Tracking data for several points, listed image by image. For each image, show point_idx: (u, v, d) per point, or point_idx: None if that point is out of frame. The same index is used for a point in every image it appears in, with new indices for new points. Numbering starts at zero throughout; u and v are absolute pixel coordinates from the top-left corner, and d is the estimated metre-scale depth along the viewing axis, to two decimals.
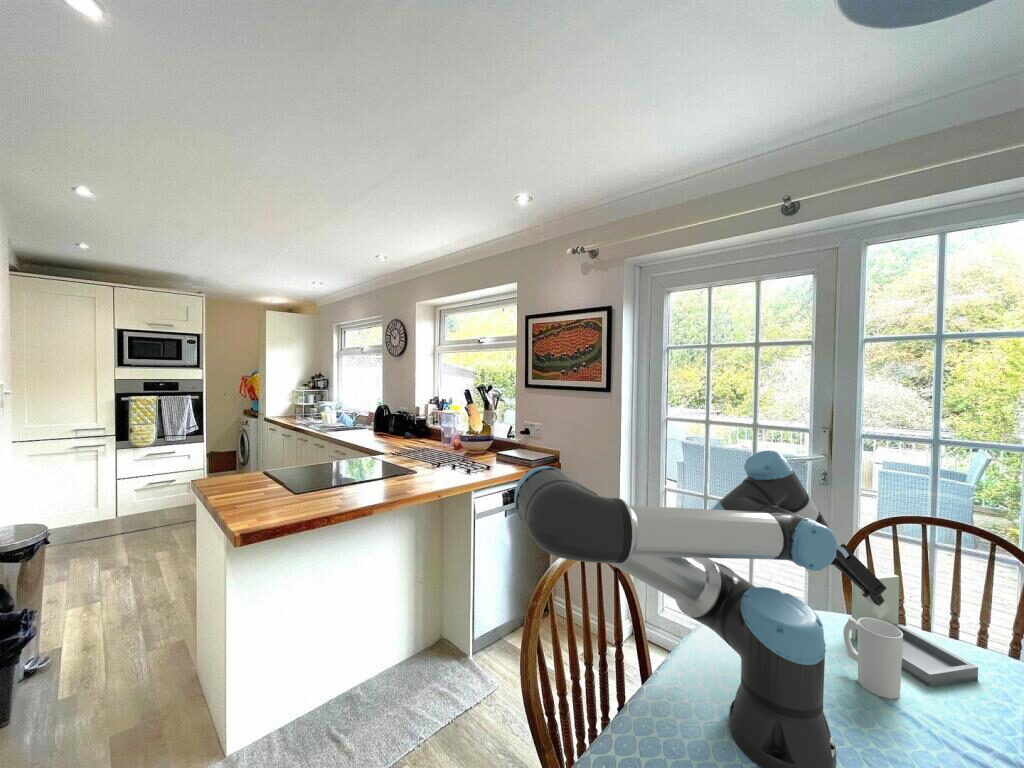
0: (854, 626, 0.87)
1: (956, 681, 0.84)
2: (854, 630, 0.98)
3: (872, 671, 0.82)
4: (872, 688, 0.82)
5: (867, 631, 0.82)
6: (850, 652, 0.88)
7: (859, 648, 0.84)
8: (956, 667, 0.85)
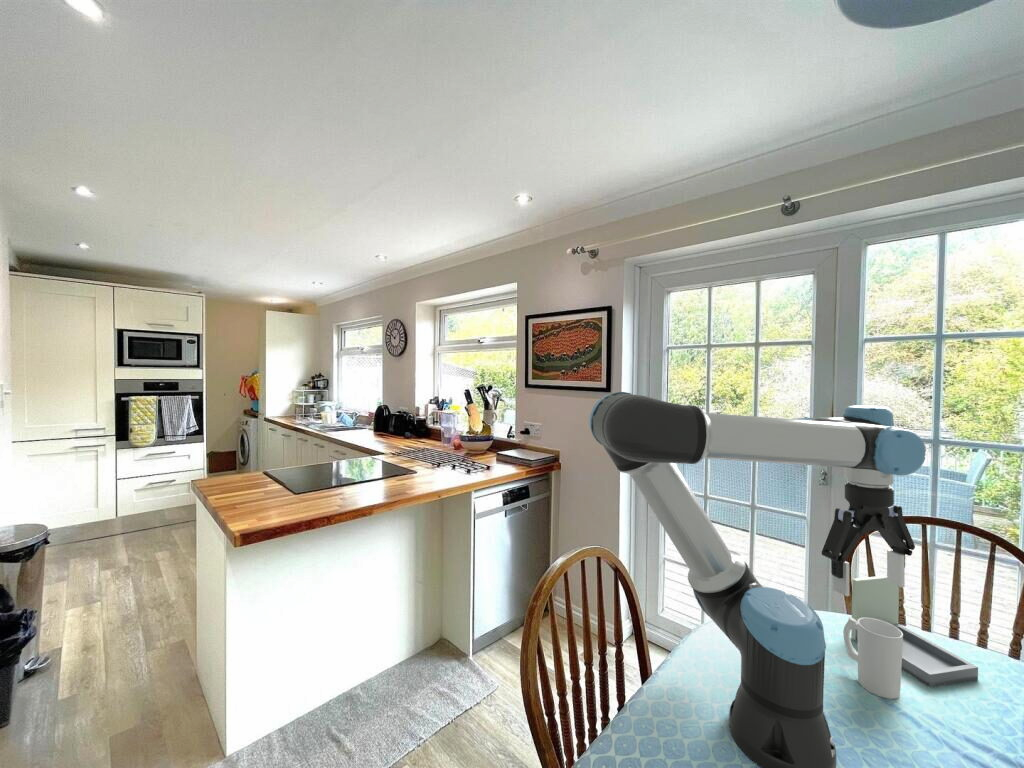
0: (854, 626, 0.87)
1: (956, 681, 0.84)
2: (854, 630, 0.98)
3: (872, 671, 0.82)
4: (872, 688, 0.82)
5: (867, 631, 0.82)
6: (850, 652, 0.88)
7: (859, 648, 0.84)
8: (956, 667, 0.85)
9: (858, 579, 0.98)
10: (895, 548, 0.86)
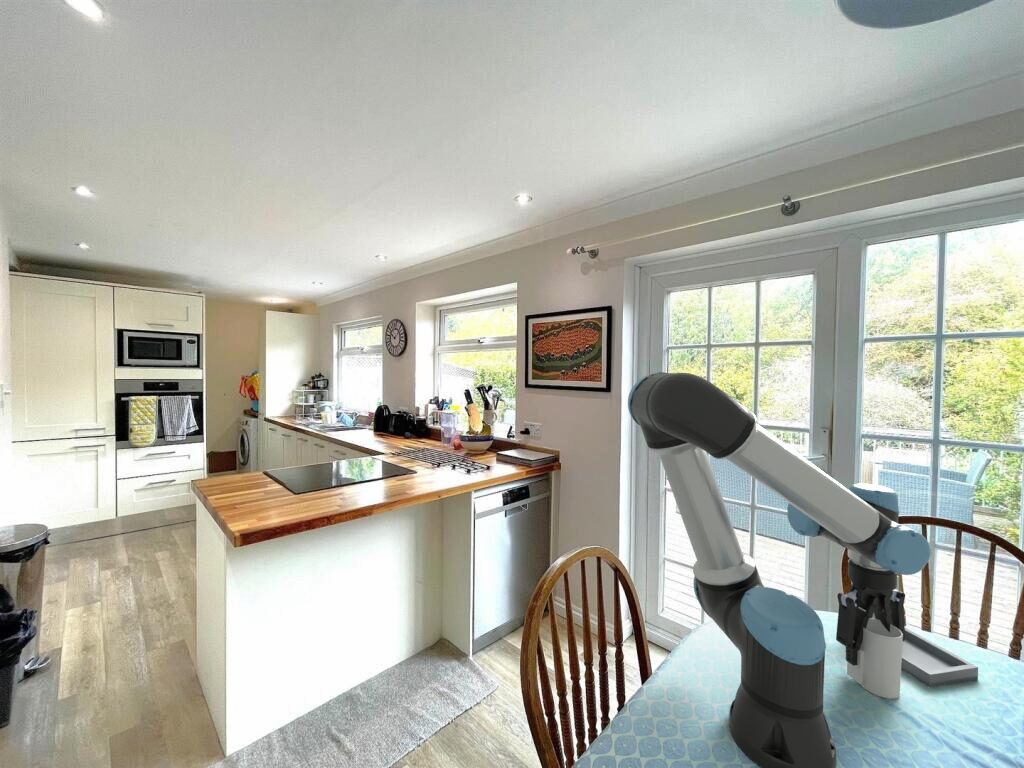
0: None
1: (956, 681, 0.84)
2: None
3: (871, 671, 0.82)
4: (872, 688, 0.82)
5: (867, 631, 0.82)
6: None
7: None
8: (956, 667, 0.85)
9: None
10: None
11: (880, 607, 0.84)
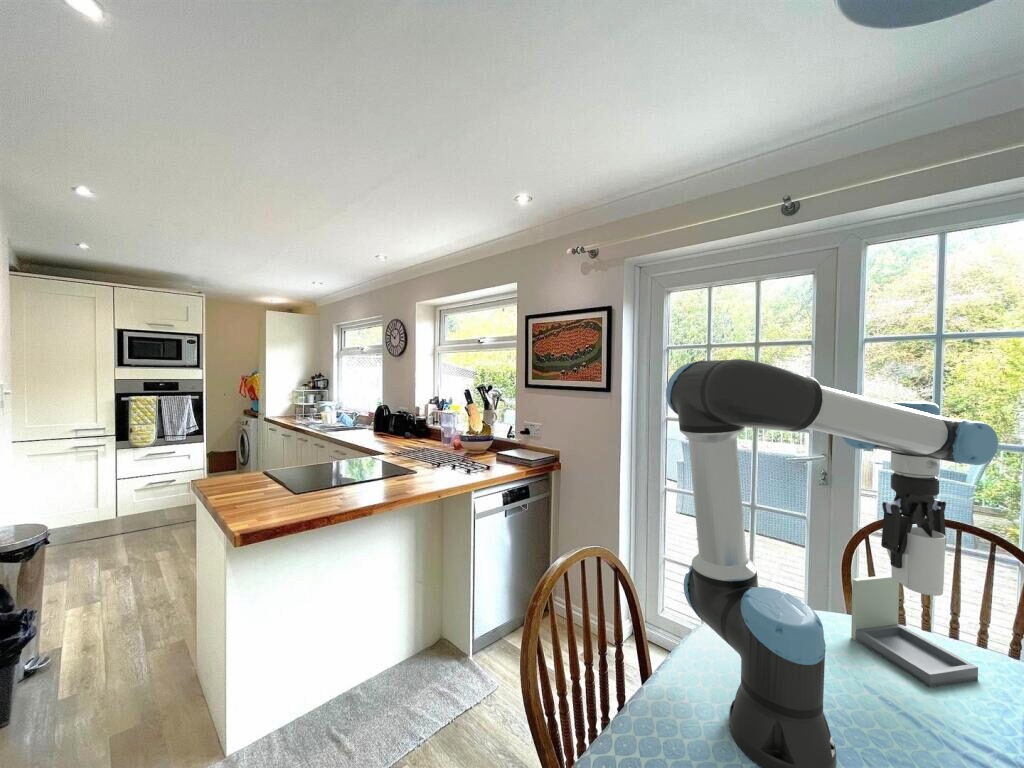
0: None
1: (956, 681, 0.84)
2: (854, 630, 0.98)
3: (916, 571, 0.87)
4: (917, 587, 0.87)
5: (911, 535, 0.88)
6: None
7: None
8: (956, 667, 0.85)
9: (858, 579, 0.98)
10: None
11: (923, 514, 0.89)
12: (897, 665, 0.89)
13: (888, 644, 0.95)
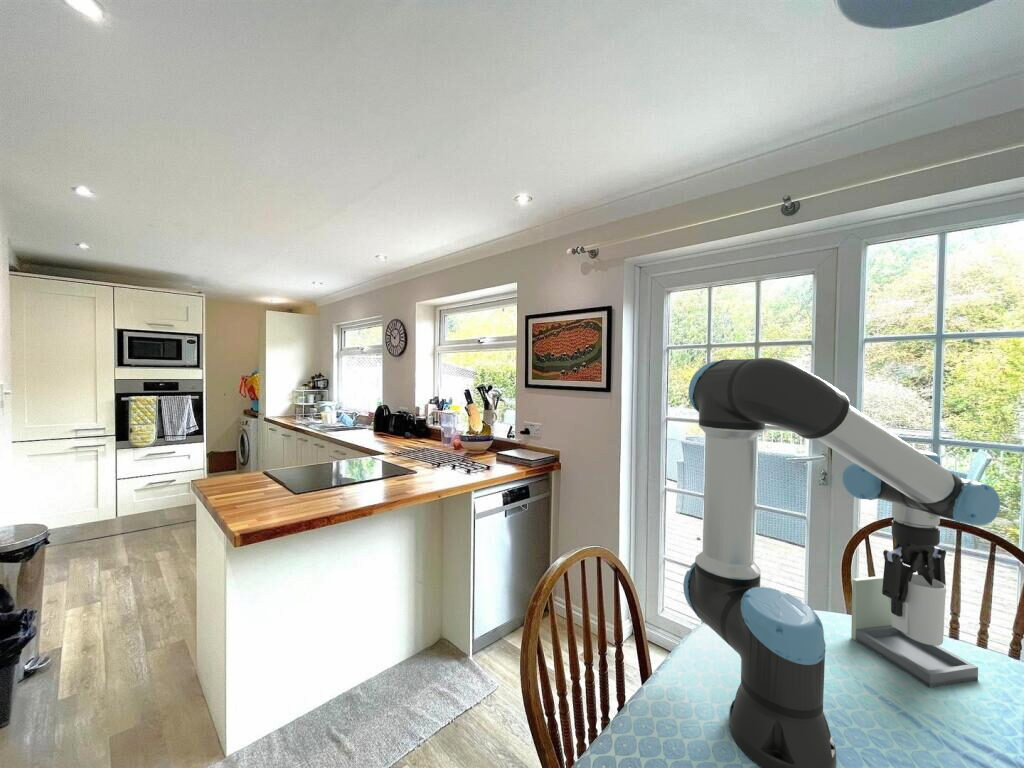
0: None
1: (956, 681, 0.84)
2: (854, 630, 0.98)
3: (916, 620, 0.88)
4: (917, 636, 0.88)
5: (912, 584, 0.89)
6: None
7: None
8: (956, 667, 0.85)
9: (858, 579, 0.98)
10: None
11: (923, 563, 0.90)
12: (897, 665, 0.89)
13: (888, 644, 0.95)
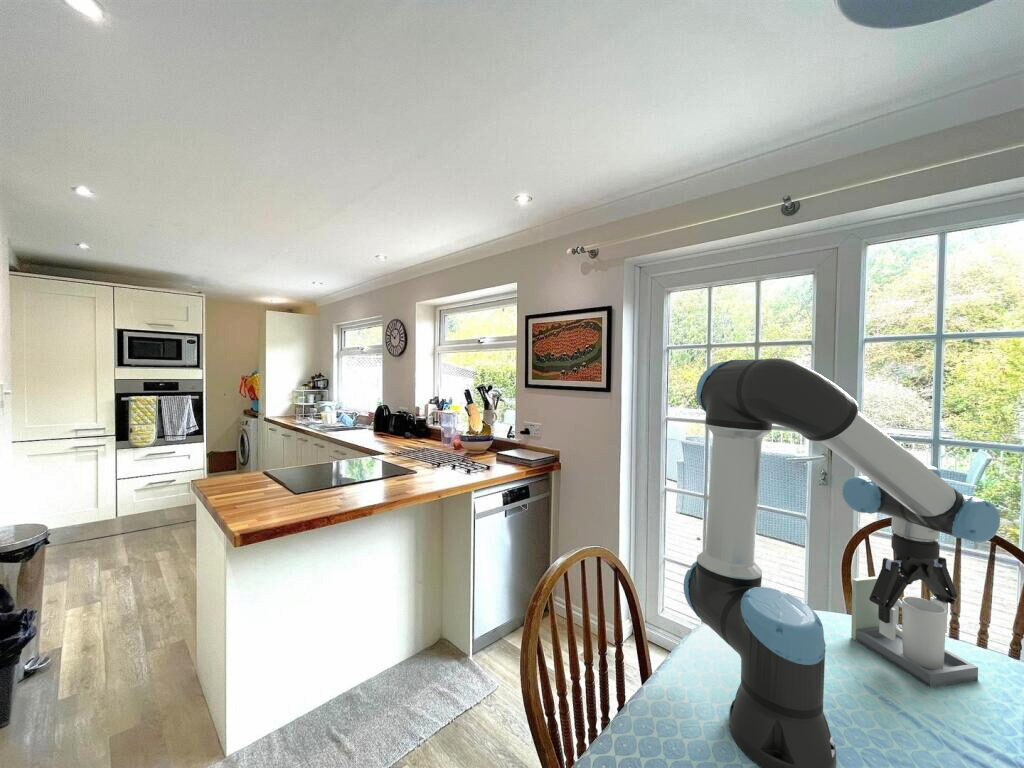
0: (898, 604, 0.94)
1: (956, 681, 0.84)
2: (854, 630, 0.98)
3: (917, 644, 0.88)
4: (917, 660, 0.88)
5: (912, 608, 0.89)
6: None
7: (904, 624, 0.91)
8: (956, 667, 0.85)
9: (858, 579, 0.98)
10: (938, 596, 0.93)
11: (923, 576, 0.90)
12: (897, 665, 0.89)
13: (888, 644, 0.95)
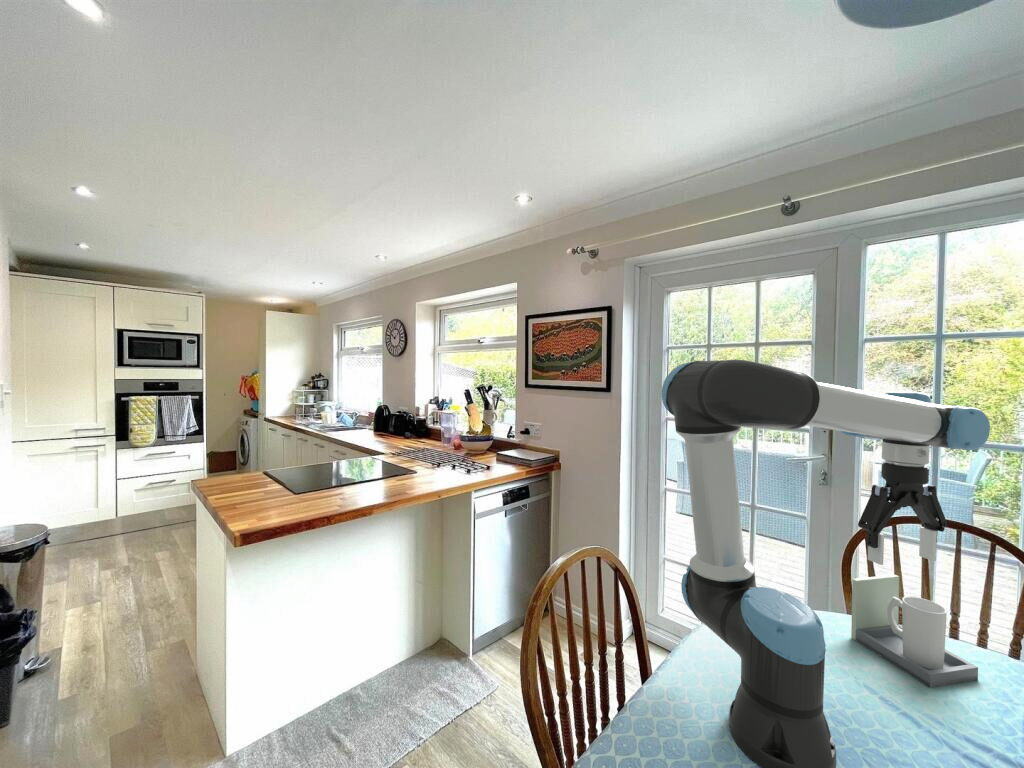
0: (898, 604, 0.94)
1: (956, 681, 0.84)
2: (854, 630, 0.98)
3: (917, 644, 0.88)
4: (918, 660, 0.88)
5: (913, 608, 0.89)
6: (894, 629, 0.94)
7: (904, 624, 0.91)
8: (956, 667, 0.85)
9: (858, 579, 0.98)
10: (928, 525, 0.93)
11: (912, 503, 0.91)
12: (897, 665, 0.89)
13: (888, 644, 0.95)
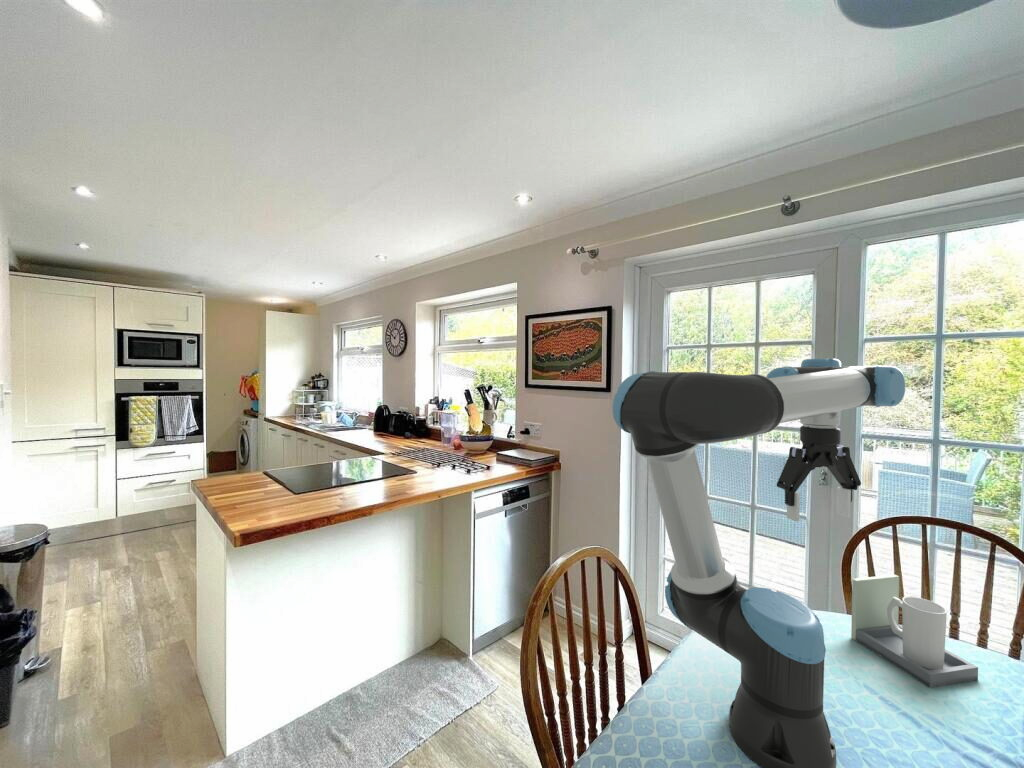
0: (898, 604, 0.94)
1: (956, 681, 0.84)
2: (854, 630, 0.98)
3: (917, 644, 0.88)
4: (917, 660, 0.88)
5: (913, 608, 0.89)
6: (894, 629, 0.94)
7: (904, 624, 0.91)
8: (956, 667, 0.85)
9: (858, 579, 0.98)
10: (844, 485, 0.99)
11: (827, 463, 0.96)
12: (897, 665, 0.89)
13: (888, 644, 0.95)
